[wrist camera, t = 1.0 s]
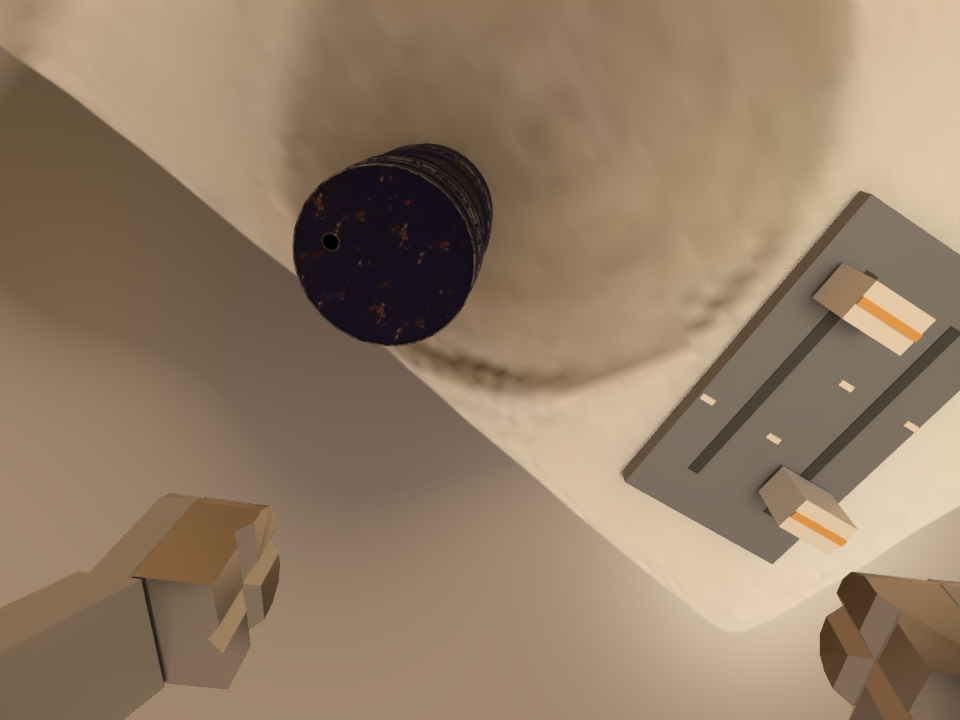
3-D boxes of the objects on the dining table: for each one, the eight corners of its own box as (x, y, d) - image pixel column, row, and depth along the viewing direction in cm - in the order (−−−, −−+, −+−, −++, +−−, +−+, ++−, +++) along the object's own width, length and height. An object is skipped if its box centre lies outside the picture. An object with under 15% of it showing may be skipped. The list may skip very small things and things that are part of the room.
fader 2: (842, 262, 42) (878, 281, 37) (896, 298, 42) (937, 320, 38) (812, 297, 43) (843, 319, 38) (865, 331, 43) (901, 356, 39)
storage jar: (513, 169, 43) (505, 201, 29) (470, 292, 47) (445, 371, 33) (382, 121, 42) (310, 131, 28) (350, 250, 46) (273, 312, 32)
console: (860, 191, 41) (873, 194, 40) (1027, 305, 44) (1045, 313, 42) (622, 471, 52) (625, 483, 51) (766, 552, 54) (773, 565, 53)
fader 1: (783, 466, 48) (807, 501, 44) (830, 494, 49) (859, 531, 45) (758, 491, 50) (779, 527, 45) (804, 518, 50) (830, 556, 46)
